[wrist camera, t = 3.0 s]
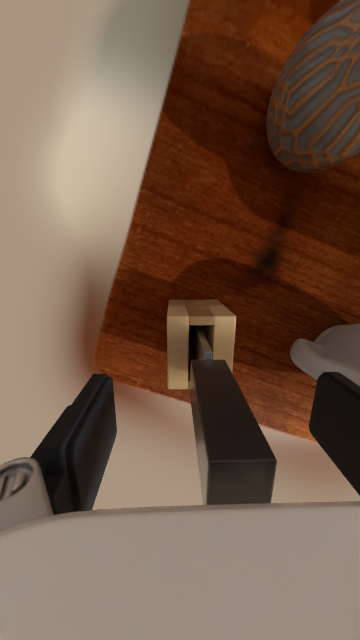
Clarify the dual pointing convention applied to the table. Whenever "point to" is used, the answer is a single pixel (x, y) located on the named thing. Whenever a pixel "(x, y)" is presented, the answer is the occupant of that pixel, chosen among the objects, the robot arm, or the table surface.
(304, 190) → the table surface
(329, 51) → the vase
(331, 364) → the mug
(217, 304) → the knife block
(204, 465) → the knife
